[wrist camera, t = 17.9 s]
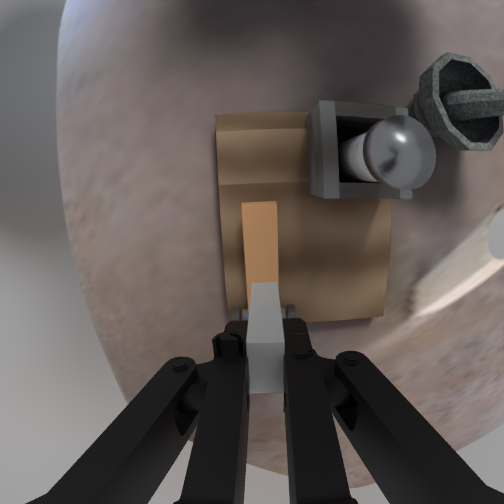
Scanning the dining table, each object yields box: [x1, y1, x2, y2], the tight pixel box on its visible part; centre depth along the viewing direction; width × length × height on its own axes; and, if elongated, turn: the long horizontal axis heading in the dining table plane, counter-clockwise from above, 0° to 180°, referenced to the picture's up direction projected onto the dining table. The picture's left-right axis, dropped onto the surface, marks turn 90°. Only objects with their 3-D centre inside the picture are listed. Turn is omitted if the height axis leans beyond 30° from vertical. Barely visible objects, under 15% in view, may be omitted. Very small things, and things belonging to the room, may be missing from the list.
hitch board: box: [215, 100, 412, 323], centre depth 24 cm, size 20×16×8 cm
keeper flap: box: [241, 201, 285, 320], centre depth 26 cm, size 11×4×1 cm, turn 3°
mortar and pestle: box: [413, 52, 504, 151], centre depth 19 cm, size 11×9×12 cm
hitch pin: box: [338, 115, 436, 190], centre depth 20 cm, size 4×4×14 cm
